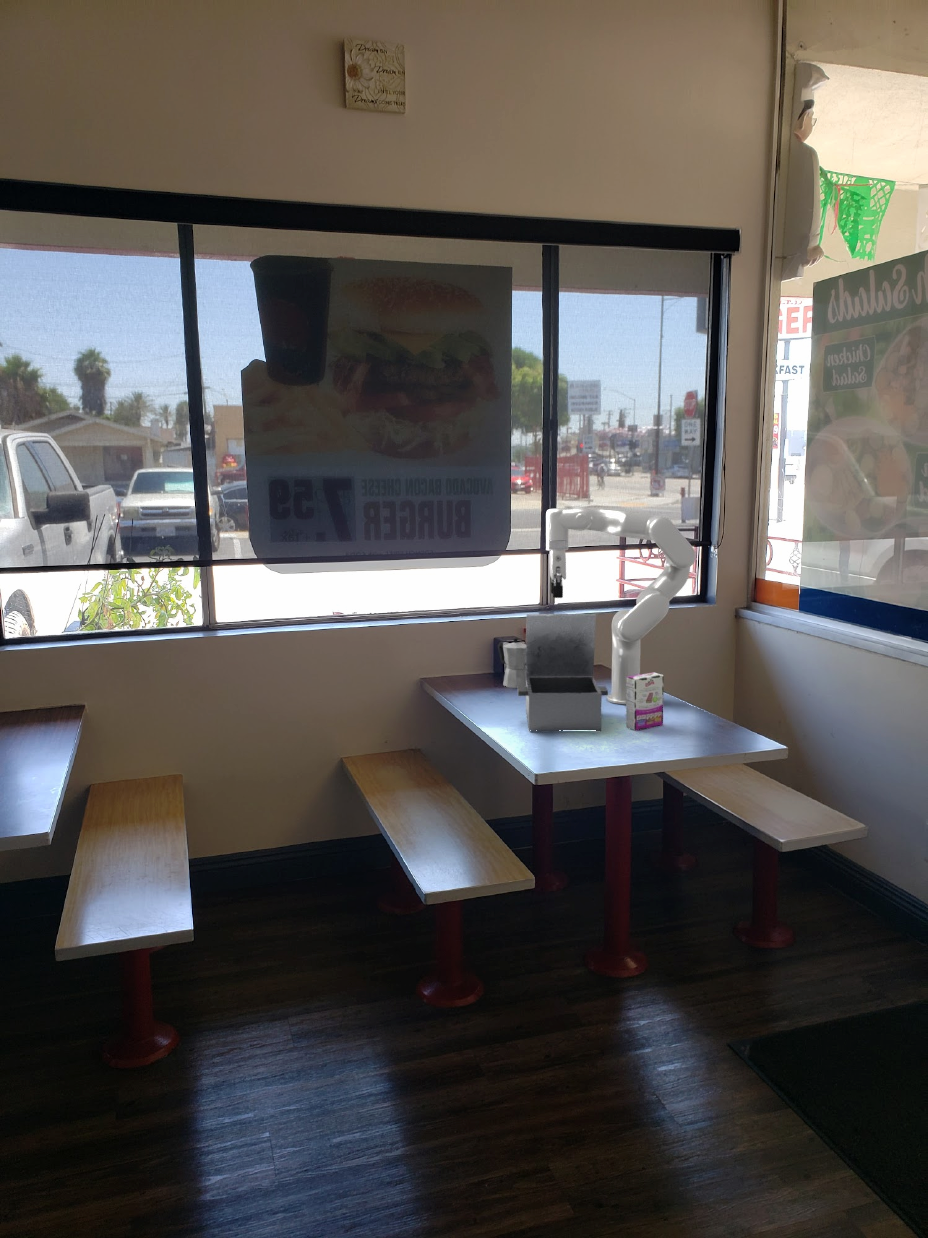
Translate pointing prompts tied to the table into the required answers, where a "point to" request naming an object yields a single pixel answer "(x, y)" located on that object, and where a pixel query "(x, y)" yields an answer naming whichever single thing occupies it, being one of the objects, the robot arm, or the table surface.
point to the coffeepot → (513, 663)
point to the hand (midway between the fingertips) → (556, 595)
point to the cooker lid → (560, 645)
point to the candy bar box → (644, 701)
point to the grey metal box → (563, 703)
